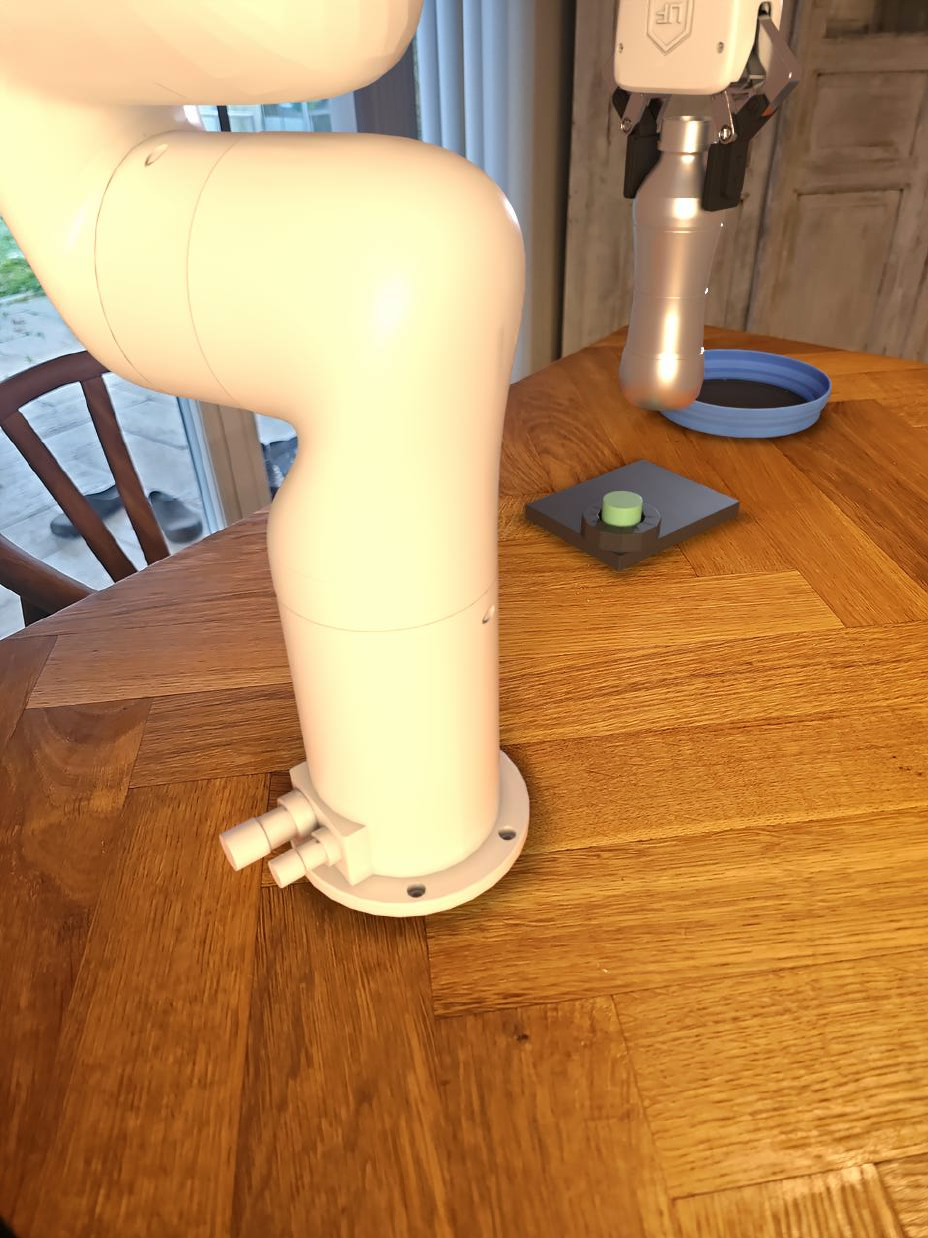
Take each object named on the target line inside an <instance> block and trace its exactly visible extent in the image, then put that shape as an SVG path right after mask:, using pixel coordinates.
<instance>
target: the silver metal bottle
mask: <svg viewBox="0 0 928 1238" xmlns="http://www.w3.org/2000/svg"><path fill="white" fill-rule="evenodd" d="M659 132H660V139H659V141H658V144H657V149H658V150H661V155H660V159H659V161H658V162H657V163H656V164H655V166H654V167H653V168H652V170H651V171H650V172H649V173H648V175H647V176H646V178H645V179H644V181H643V182H642V184H641V185H640V187H639V188H638V190H637V193H636V196H635V199H633V202H632V220H633V221H632V233H633V252H634V266H633V267H634V269H633V282H634V286H633V292H632V293H633V296H632V306H631V311H630V316H629V317H630V318H629V324H628V330H627V337H626V343H625V344H624V347H623V351H622V355H621V359H620V363H619V367H618V368H619V369H618V377H619V388H620V389H619V390H620V391H621V394H622V395H623V397H624V398H625V400H626V402H628V403H629V404H631V405H632V406H634V407H637V408H640V409H644V410H649V411H657V412H658V411H659V412H660V411H672V410H679V409H683V408H686V407H688V406H690V405H691V404H692V403H693V401H694V400H695V399H696V398H697V397H698V396H699V393H700V390H701V386H702V383H703V380H704V375H705V359H704V350H705V349H704V347H703V346H704V336H705V315H706V314H705V311H706V310H705V309H706V301H707V295H708V286H709V283H710V278H711V273H712V267H713V263H714V262H713V261H714V258H715V254H716V250H717V246H718V244H719V243H718V242H719V239H720V235H721V232H722V228H723V222H724V221H725V215H726V212H727V211H726V210H727V209H724V210H719V211H714V212H709V211H704V209H703V208H702V199H703V191H704V182H705V174H706V166H707V158H708V150H709V147H710V144H712V143H717V141H716V134H717V129H716V124H715V119H714V116H702V115H677V116H676V115H675V116H668V117H662V120H661V122H660V131H659Z"/></svg>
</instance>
